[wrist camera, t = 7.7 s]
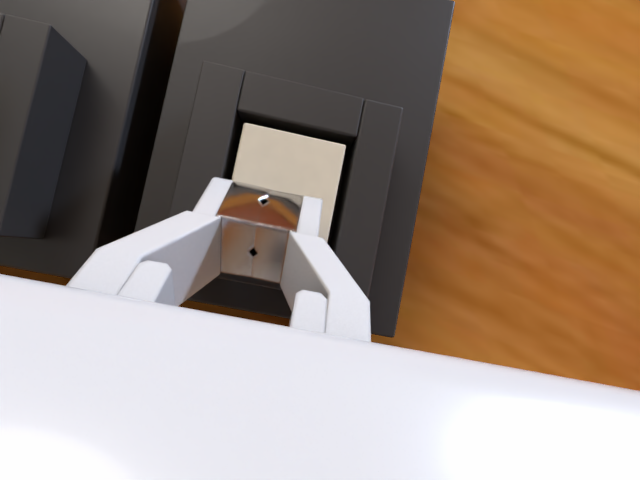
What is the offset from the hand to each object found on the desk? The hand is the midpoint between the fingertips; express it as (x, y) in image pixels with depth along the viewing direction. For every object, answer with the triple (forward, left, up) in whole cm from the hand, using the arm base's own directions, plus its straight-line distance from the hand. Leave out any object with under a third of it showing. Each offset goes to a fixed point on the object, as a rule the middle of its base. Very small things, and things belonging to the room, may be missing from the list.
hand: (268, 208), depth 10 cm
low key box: (+3, 0, -7) cm, 8 cm away
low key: (+1, 0, -2) cm, 2 cm away
